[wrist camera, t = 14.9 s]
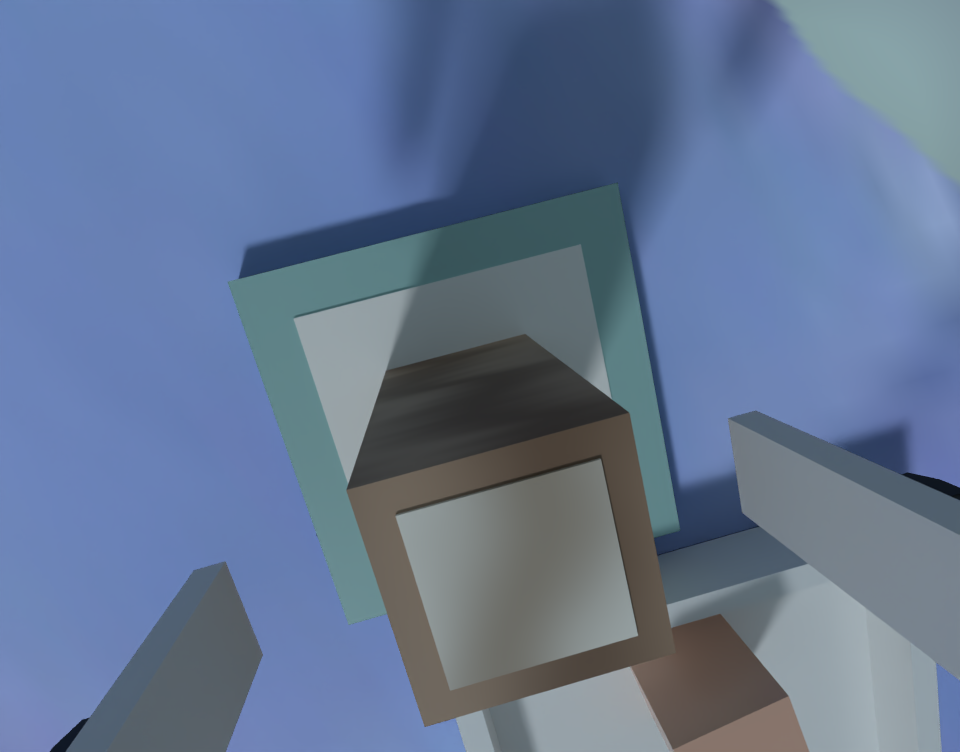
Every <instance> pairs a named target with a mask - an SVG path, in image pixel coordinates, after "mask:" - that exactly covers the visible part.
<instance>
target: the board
mask: <svg viewBox="0 0 960 752" xmlns="http://www.w3.org/2000/svg"><path fill="white" fill-rule="evenodd" d="M228 284H229V287H230V290H231V293H232V296H233V299H234V301H235V304H236V307H237V310H238V313H239V316H240V318H241V321H242V324H243V327H244V330H245V333H246V335H247V338H248V341H249V344H250V347H251V350H252V352H253V355H254V358H255V361H256V364H257V367H258V369H259V372H260V375H261V378H262V381H263V384H264V386H265V389H266V392H267V395H268V398H269V400H270V403H271V406H272V409H273V412H274V415H275V417H276V420H277V423H278V426H279V429H280V432H281V434H282V437H283V440H284V443H285V446H286V449H287V451H288V454H289V457H290V460H291V463H292V466H293V468H294V471H295V474H296V477H297V480H298V483H299V485H300V488H301V491H302V494H303V497H304V500H305V502H306V505H307V508H308V511H309V514H310V517H311V519H312V522H313V525H314V528H315V531H316V534H317V536H318V539H319V542H320V545H321V548H322V551H323V553H324V556H325V559H326V562H327V565H328V568H329V570H330V573H331V576H332V579H333V582H334V584H335V587H336V590H337V593H338V596H339V599H340V601H341V604H342V607H343V610H344V613H345V616H346V618H347V621H348V624H349V625H350V624H354V623H357V622H361V621H364V620H368V619H371V618H375V617H378V616H382V615H385V614H387V612H386V609H385V606H384V602H383V599H382V596H381V593H380V590H379V587H378V584H377V581H376V578H375V575H374V572H373V569H372V566H371V563H370V560H369V557H368V554H367V551H366V548H365V545H364V542H363V539H362V536H361V533H360V530H359V527H358V524H357V521H356V518H355V515H354V512H353V509H352V506H351V503H350V500H349V497H348V494H347V491H346V489H347V486H348V483H349V480H350V477H351V474H352V471H353V468H354V465H355V462H356V459H357V456H358V453H359V450H360V447H361V444H362V441H363V438H364V435H365V432H366V429H367V426H368V423H369V420H370V417H371V414H372V411H373V408H374V405H375V402H376V399H377V396H378V393H379V390H380V387H381V384H382V381H383V378H384V375H385V372H386V371H387V370H390V369H394V368H398V367H402V366H406V365H409V364H413V363H417V362H421V361H424V360H428V359H432V358H436V357H440V356H443V355H447V354H451V353H455V352H458V351H462V350H466V349H470V348H474V347H477V346H481V345H485V344H489V343H492V342H496V341H500V340H504V339H507V338H511V337H515V336H519V335H523V334H526V335H527V336H529V337H530V338H531V339H533V340H534V341H535V342H537V343H538V344H539V345H541V346H542V347H543V348H545V349H546V350H547V351H549V352H550V353H551V354H553V355H554V356H555V357H557V358H558V359H559V360H560V361H562V362H563V363H564V364H566V365H567V366H568V367H570V368H571V369H572V370H574V371H575V372H576V373H578V374H579V375H580V376H582V377H583V378H584V379H586V380H587V381H588V382H590V383H591V384H592V385H594V386H595V387H596V388H598V389H599V390H600V391H602V392H603V393H604V394H606V395H607V396H608V397H609V398H611V399H612V400H613V401H615V402H616V403H617V404H619V405H620V406H621V407H623V408H624V409H625V410H627V411H628V412H629V413H630V418H631V423H632V428H633V433H634V438H635V443H636V449H637V454H638V459H639V464H640V469H641V474H642V480H643V485H644V490H645V495H646V500H647V505H648V511H649V516H650V521H651V526H652V531H653V536H654V538H656V537H659V536H663V535H666V534H670V533H673V532H677V531H680V526H679V520H678V515H677V509H676V504H675V498H674V493H673V487H672V482H671V476H670V471H669V465H668V459H667V454H666V448H665V443H664V437H663V432H662V426H661V421H660V415H659V409H658V404H657V398H656V393H655V387H654V382H653V376H652V371H651V365H650V359H649V354H648V348H647V343H646V337H645V332H644V326H643V321H642V315H641V310H640V304H639V298H638V293H637V287H636V282H635V276H634V271H633V265H632V260H631V254H630V248H629V243H628V237H627V232H626V226H625V221H624V215H623V210H622V204H621V198H620V193H619V187H618V183H614V184H610V185H607V186H603V187H599V188H595V189H591V190H587V191H583V192H579V193H575V194H571V195H567V196H563V197H559V198H555V199H551V200H548V201H544V202H540V203H536V204H532V205H528V206H524V207H520V208H516V209H512V210H508V211H504V212H500V213H496V214H492V215H489V216H485V217H481V218H477V219H473V220H469V221H465V222H461V223H457V224H453V225H449V226H445V227H441V228H437V229H434V230H430V231H426V232H422V233H418V234H414V235H410V236H406V237H402V238H398V239H394V240H390V241H386V242H382V243H378V244H375V245H371V246H367V247H363V248H359V249H355V250H351V251H347V252H343V253H339V254H335V255H331V256H327V257H323V258H319V259H316V260H312V261H308V262H304V263H300V264H296V265H292V266H288V267H284V268H280V269H276V270H272V271H268V272H264V273H261V274H257V275H253V276H249V277H245V278H241V279H237V280H233V281H229V282H228Z"/></svg>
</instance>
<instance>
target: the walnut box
mask: <svg viewBox="0 0 960 752" xmlns="http://www.w3.org/2000/svg"><path fill="white" fill-rule="evenodd" d="M346 491H347V494H348V497H349V500H350V503H351V506H352V509H353V512H354V515H355V518H356V521H357V524H358V527H359V530H360V533H361V536H362V539H363V542H364V545H365V548H366V551H367V554H368V557H369V560H370V563H371V566H372V569H373V572H374V575H375V578H376V581H377V584H378V587H379V590H380V593H381V596H382V599H383V602H384V606H385V609H386V612H387V615H388V618H389V621H390V624H391V627H392V630H393V633H394V636H395V639H396V642H397V645H398V648H399V651H400V654H401V657H402V660H403V663H404V666H405V669H406V672H407V675H408V678H409V681H410V684H411V687H412V690H413V693H414V696H415V699H416V702H417V705H418V708H419V711H420V714H421V717H422V720H423V723H424V726H425V727H426V726H430V725H433V724H437V723H440V722H443V721H447V720H450V719H454V718H457V717H460V716H464V715H467V714H471V713H474V712H477V711H481V710H484V709H488V708H491V707H494V706H498V705H501V704H505V703H508V702H511V701H515V700H518V699H521V698H525V697H528V696H532V695H535V694H538V693H542V692H545V691H549V690H552V689H555V688H559V687H562V686H566V685H569V684H572V683H576V682H579V681H583V680H586V679H589V678H593V677H596V676H600V675H603V674H606V673H610V672H613V671H617V670H620V669H623V668H627V667H630V666H634V665H637V664H640V663H644V662H647V661H651V660H654V659H657V658H661V657H664V656H667V655H671V654H674V653H676V650H675V645H674V640H673V635H672V630H671V624H670V619H669V614H668V609H667V604H666V598H665V593H664V588H663V583H662V578H661V573H660V567H659V562H658V557H657V552H656V547H655V542H654V536H653V531H652V526H651V521H650V516H649V511H648V505H647V500H646V495H645V490H644V485H643V480H642V474H641V469H640V464H639V459H638V454H637V449H636V443H635V438H634V433H633V428H632V423H631V418H630V413H629V412H628V411H627V410H625V409H624V408H623V407H621V406H620V405H619V404H617V403H616V402H615V401H613V400H612V399H611V398H609V397H608V396H607V395H606V394H604V393H603V392H602V391H600V390H599V389H598V388H596V387H595V386H594V385H592V384H591V383H590V382H588V381H587V380H586V379H584V378H583V377H582V376H580V375H579V374H578V373H576V372H575V371H574V370H572V369H571V368H570V367H568V366H567V365H566V364H564V363H563V362H562V361H560V360H559V359H558V358H557V357H555V356H554V355H553V354H551V353H550V352H549V351H547V350H546V349H545V348H543V347H542V346H541V345H539V344H538V343H537V342H535V341H534V340H533V339H531V338H530V337H529V336H527V335H526V334H523V335H519V336H515V337H511V338H507V339H504V340H500V341H496V342H492V343H489V344H485V345H481V346H477V347H474V348H470V349H466V350H462V351H458V352H455V353H451V354H447V355H443V356H440V357H436V358H432V359H428V360H424V361H421V362H417V363H413V364H409V365H406V366H402V367H398V368H394V369H390V370H387V371H386V372H385V375H384V378H383V381H382V384H381V387H380V390H379V393H378V396H377V399H376V402H375V405H374V408H373V411H372V414H371V417H370V420H369V423H368V426H367V429H366V432H365V435H364V438H363V441H362V444H361V447H360V450H359V453H358V456H357V459H356V462H355V465H354V468H353V471H352V474H351V477H350V480H349V483H348V486H347V489H346Z"/></svg>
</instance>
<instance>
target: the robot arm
mask: <svg viewBox="0 0 960 752" xmlns="http://www.w3.org/2000/svg"><path fill="white" fill-rule="evenodd" d="M728 422H729V428H730V435H731V442H732V448H733V455H734V462H735V468H736V475H737V482H738V488H739V495H740V502H741V508H742V513H743V514H744V515H746V516H747V517H748V518H750V519H751V520H752V521H753V522H755V523H756V524H757V525H759V526H760V527H761V528H763V529H764V530H765V531H766V532H768V533H769V534H770V535H772V536H773V537H774V538H776V539H777V540H778V541H779V542H781V543H782V544H783V545H785V546H786V547H787V548H789V549H790V550H791V551H792V552H794V553H795V554H796V555H798V556H799V557H800V558H802V559H803V560H804V561H805V562H807V563H808V564H809V565H811V566H812V567H813V568H814V569H816V570H817V571H818V572H820V573H821V574H822V575H824V576H825V577H826V578H827V579H829V580H830V581H831V582H833V583H834V584H835V585H837V586H838V587H839V588H840V589H842V590H843V591H844V592H846V593H847V594H848V595H850V596H851V597H852V598H853V599H855V600H856V601H857V602H859V603H860V604H861V605H863V606H864V607H865V608H866V609H868V610H869V611H870V612H872V613H873V614H874V615H876V616H877V617H878V618H879V619H881V620H882V621H883V622H885V623H886V624H887V625H888V626H890V627H891V628H892V629H894V630H895V631H896V632H898V633H899V634H900V635H901V636H903V637H904V638H905V639H907V640H908V641H909V642H911V643H912V644H913V645H914V646H916V647H917V648H918V649H920V650H921V651H922V652H924V653H925V654H926V655H927V656H929V657H930V658H931V659H933V660H934V661H935V662H937V663H938V664H939V665H940V666H942V667H943V668H944V669H946V670H947V671H948V672H950V673H951V674H952V675H953V676H955V677H956V678H957V679H959V680H960V488H959V487H957V486H954V485H952V484H950V483H947V482H945V481H942V480H940V479H935V478H930V477H926V476H921V475H917V474H912V473H905V474H899V473H896V472H894V471H892V470H889V469H887V468H885V467H883V466H880V465H878V464H876V463H874V462H871V461H869V460H867V459H864V458H862V457H860V456H858V455H855V454H853V453H851V452H849V451H846V450H844V449H842V448H840V447H837V446H835V445H833V444H830V443H828V442H826V441H824V440H821V439H819V438H817V437H815V436H812V435H810V434H808V433H805V432H803V431H801V430H799V429H796V428H794V427H792V426H790V425H787V424H785V423H783V422H781V421H778V420H776V419H774V418H771V417H769V416H767V415H765V414H762V413H760V412H758V411H752V412H749V413H745V414H742V415H738V416H735V417H731V418H728ZM262 656H263V654H262V651H261V649H260V646H259V644H258V641H257V639H256V636H255V634H254V631H253V629H252V627H251V624H250V622H249V619H248V617H247V614H246V612H245V609H244V607H243V604H242V602H241V599H240V597H239V594H238V592H237V589H236V587H235V584H234V582H233V579H232V577H231V574H230V572H229V569H228V567H227V564H226V562H221V563H218V564H214V565H211V566H207V567H204V568H200V569H197V570H194V571H193V573H192V574H191V575H190V577H189V578H188V580H187V581H186V583H185V584H184V585H183V587H182V588H181V590H180V591H179V592H178V594H177V595H176V597H175V598H174V599H173V601H172V602H171V604H170V605H169V607H168V608H167V609H166V611H165V612H164V614H163V615H162V616H161V618H160V619H159V621H158V622H157V623H156V625H155V626H154V628H153V629H152V630H151V632H150V633H149V635H148V636H147V638H146V639H145V640H144V642H143V643H142V645H141V646H140V647H139V649H138V650H137V652H136V653H135V654H134V656H133V657H132V659H131V660H130V662H129V663H128V664H127V666H126V667H125V669H124V670H123V671H122V673H121V674H120V676H119V677H118V678H117V680H116V681H115V683H114V684H113V686H112V687H111V688H110V690H109V691H108V693H107V694H106V695H105V697H104V698H103V700H102V701H101V702H100V704H99V705H98V707H97V708H96V710H95V711H94V712H93V714H92V715H91V717H90V718H87V719H84V720H81V721H80V722H79V723H78V724H77V725H76V726H75V727H74V728H73V729H72V730H71V731H70V732H69V733H68V734H67V735H66V736H65V737H63V738H62V739H61V740H60V741H59V742H58V743H57V744H56V745H55V746H54V747H53V748H52V749H51V751H50V752H226V750H227V747H228V744H229V742H230V739H231V736H232V734H233V731H234V729H235V726H236V723H237V721H238V718H239V716H240V713H241V710H242V708H243V705H244V703H245V700H246V697H247V695H248V692H249V690H250V687H251V684H252V682H253V679H254V676H255V674H256V671H257V669H258V666H259V663H260V661H261V658H262Z"/></svg>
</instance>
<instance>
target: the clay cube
mask: <svg viewBox="0 0 960 752" xmlns="http://www.w3.org/2000/svg"><path fill="white" fill-rule="evenodd" d="M671 630H672V635H673V640H674V645H675V650H676V653H674V654H671V655H667V656H664V657H661V658H657V659H654V660H651V661H647V662H644V663H640V664H637V665H634V666H630V668H631V671H632V673H633V675H634V677H635V679H636V682H637V684H638V686H639V688H640V691H641V693H642V695H643V697H644V699H645V702H646V704H647V706H648V708H649V711H650V713H651V715H652V717H653V719H654V721H655V723H656V725H657V727H658V729H659V731H660V733H661V736H662V738H663V740H664V742H665V744H666V746H667V748H668V750H669V752H809V749H808V747H807V744H806V741H805V739H804V736H803V733H802V730H801V728H800V725H799V722H798V720H797V717H796V714H795V711H794V709H793V706H792V703H791V700H790V698H789V696H788V694H787V693H786V692H785V691H784V690H783V688H782V687H781V686H780V685H779V684H778V682H777V681H776V680H775V679H774V678H773V676H772V675H771V674H770V673H769V672H768V670H767V669H766V668H765V667H764V666H763V664H762V663H761V662H760V661H759V660H758V658H757V657H756V656H755V655H754V654H753V652H752V651H751V650H750V649H749V648H748V646H747V645H746V644H745V643H744V641H743V640H742V639H741V638H740V637H739V635H738V634H737V633H736V632H735V631H734V629H733V628H732V627H731V626H730V625H729V623H728V622H727V621H726V620H725V619H724V617H723V616H722V615H721V614H717V615H714V616H710V617H707V618H704V619H700V620H697V621H693V622H690V623H687V624H683V625H680V626H676V627H673V628H671Z"/></svg>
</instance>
